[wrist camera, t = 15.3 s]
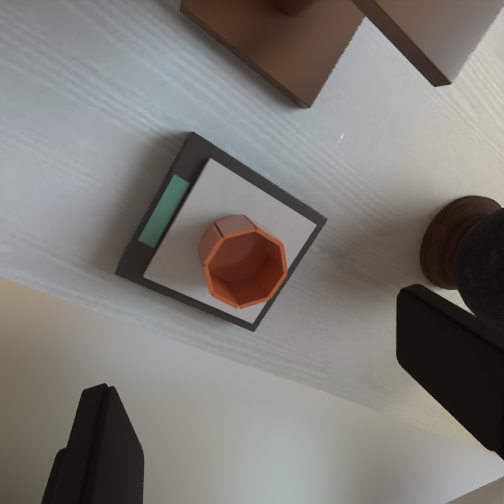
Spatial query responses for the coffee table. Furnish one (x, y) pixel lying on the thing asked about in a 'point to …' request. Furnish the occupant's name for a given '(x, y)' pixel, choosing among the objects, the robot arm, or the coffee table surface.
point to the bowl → (241, 261)
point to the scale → (201, 217)
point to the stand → (342, 35)
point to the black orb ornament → (469, 255)
